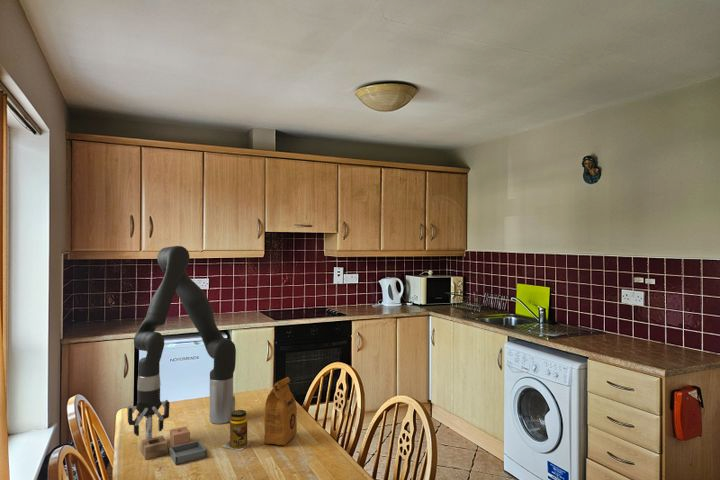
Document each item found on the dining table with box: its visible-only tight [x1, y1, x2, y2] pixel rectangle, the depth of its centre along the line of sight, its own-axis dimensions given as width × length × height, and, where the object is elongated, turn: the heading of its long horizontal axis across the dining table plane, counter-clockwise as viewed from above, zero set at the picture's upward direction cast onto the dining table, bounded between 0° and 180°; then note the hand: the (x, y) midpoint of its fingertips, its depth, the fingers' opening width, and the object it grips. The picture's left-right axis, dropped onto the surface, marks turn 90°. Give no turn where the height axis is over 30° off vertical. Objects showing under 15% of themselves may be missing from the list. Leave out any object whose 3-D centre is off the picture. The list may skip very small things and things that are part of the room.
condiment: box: [220, 409, 252, 451], centre depth 174 cm, size 7×8×12 cm
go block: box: [140, 435, 168, 460], centre depth 167 cm, size 7×7×4 cm
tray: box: [168, 440, 207, 466], centre depth 165 cm, size 10×9×2 cm
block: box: [169, 426, 191, 447], centre depth 174 cm, size 6×6×5 cm
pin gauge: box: [145, 415, 153, 439], centre depth 175 cm, size 2×2×10 cm
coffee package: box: [263, 376, 298, 446], centre depth 178 cm, size 10×12×22 cm
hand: (148, 432), depth 175 cm, fingers open, 7 cm apart
